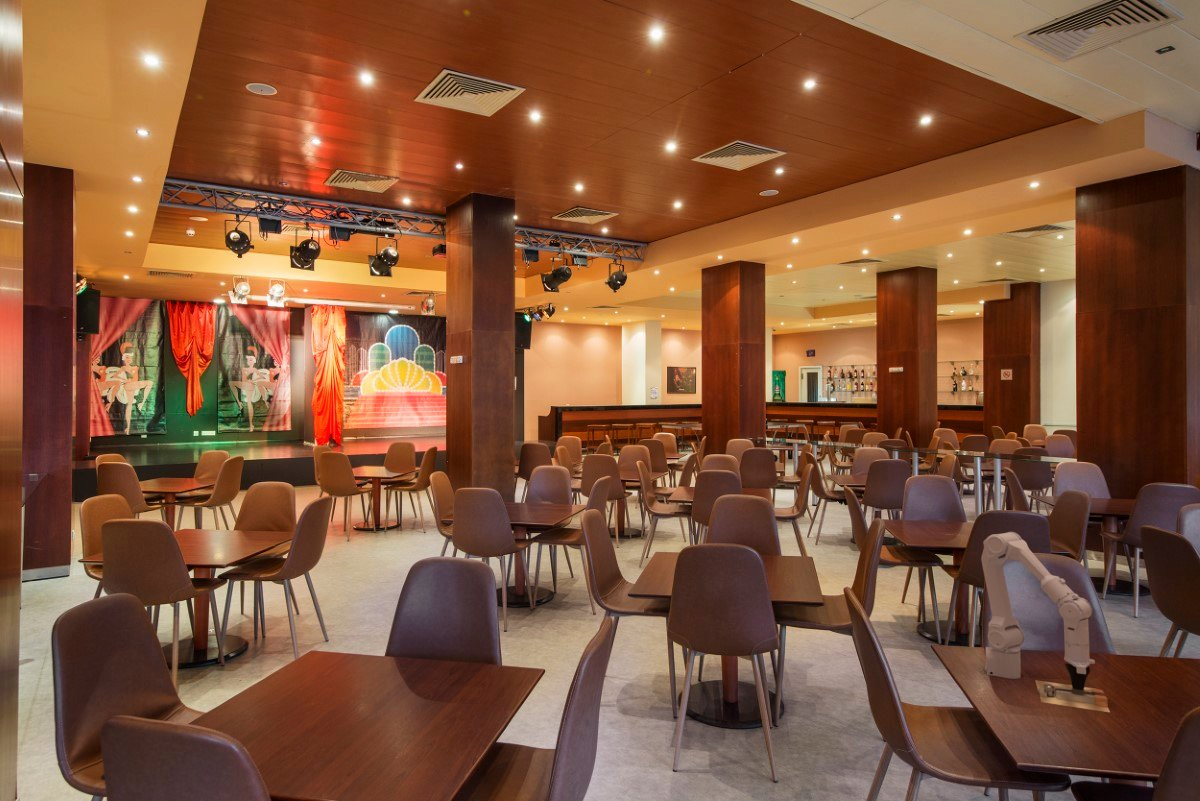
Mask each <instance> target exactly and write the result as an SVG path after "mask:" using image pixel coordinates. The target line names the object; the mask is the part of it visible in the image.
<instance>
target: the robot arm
mask: <svg viewBox="0 0 1200 801" xmlns="http://www.w3.org/2000/svg"><path fill="white" fill-rule="evenodd" d="M982 544H983V549H982V550H983V551H982V554H981V558H980V561H981V565H982V571H983V576H984V580H985V585H986V591H987V596H988V601H989V606H990V611H991V615H992V616H991V619H990V621H989V622H988V625H987V626H988V633H987V641H988V643H989V645H990V646H985V665H984V671H985V672H986V676H987V675H988V676H993V677H999V678H1005V679H1010V680H1011V679H1012V680H1013V679H1014V680H1015V679H1017V680H1018V679H1020V678H1021V677H1022V676H1021V675H1022V674H1021V670H1022V669H1021V668H1022V666H1021V646H1022V645H1023V644H1024V642H1025V639H1026V636H1025V632H1024V631H1023V630H1022V629H1021V627H1020V623H1019V621H1018V619H1017V618H1016V617H1014V616H1013V612H1012V611H1013V610H1012V606H1011V602H1010V601H1011V600H1010V597H1009V591H1008V587H1007V582H1006V576H1005V573H1004V572H1005V571H1004V567H1003V564H1004V562H1006V560H1007V559H1012V560H1016V561H1019V562H1020V563H1021V564H1022V565H1023V566H1024V567H1025V568H1026V569H1027V570H1028V571H1029V572H1030V573H1031V574H1032V575H1034V577H1036V579H1037V580H1039V581H1040V589H1042V591H1043V592H1044V593H1045V594H1046V595H1047V597H1049V599H1051V601H1052V602H1053V603H1054V604H1055V605H1056V606H1057V607H1058V612H1059V615H1060V617H1061V618H1062V620H1063V630H1064V632H1063V633H1064V638H1063V639H1064V640H1063V641H1064V656H1063V659H1064V661H1065V662H1067V663H1065V664H1064V666H1065V668H1066V670H1067V672H1068V675H1069V677H1070V682H1071V685H1072V687H1073V688H1077V689H1084V687H1085V685H1086V680H1087V678H1088V676H1089V674H1090V672H1091V668H1090V665H1091V664H1092V665H1094V664H1096V661H1095V659H1092V658H1090V633H1089V618H1090V617H1091V616H1092V614H1093V607H1092V605H1091V604H1090V602H1089V601H1088V599H1085V598H1084V597H1080V596H1079V595H1078V594H1077V593H1075V592H1074V591H1073V590H1072V589H1071V588H1070V587H1069V586H1068V585H1067V584H1066V582H1067V581H1066V580H1065V579H1064V578H1061V577H1060V576H1058V575H1053V574H1051V573H1050V571H1048V569H1047V568H1046V567H1045V566H1044V565H1043V563H1042V562H1041V561H1040V560H1039V559H1038V558H1037V556H1036V555H1035V554H1034V553H1033V552H1032V550H1031V549H1030V548H1029V546H1028V544H1027V542H1026V541H1025V540H1024V539H1022V537H1021V536H1020V535H1019V534H1018V533H1017V532H1013V531H1007V532H1005V533H1004V532H1003V533H997V534H995V533H994V534H991V535H988V536H987V537H986V539H984V540H983V543H982Z"/></svg>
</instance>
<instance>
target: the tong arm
mask: <svg viewBox="0 0 1200 801" xmlns="http://www.w3.org/2000/svg"><path fill="white" fill-rule="evenodd" d="M1056 690H1060V691H1067V692H1074V693H1081V694H1088V695H1100V696H1105V692H1104V690H1103V689H1098V688H1095V689H1091V690H1085V689H1077V688H1068V687H1060V686H1054V694H1055V695H1056Z"/></svg>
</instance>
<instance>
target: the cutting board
mask: <svg viewBox="0 0 1200 801" xmlns="http://www.w3.org/2000/svg"><path fill="white" fill-rule="evenodd" d="M1044 684H1050V685H1053V686H1060V687H1068V688H1073V687H1072V684H1066V683H1058V682H1050V681H1043V680H1037V679H1035V685H1036V689H1037V692H1038V693H1039V690H1038V688H1044ZM1084 689H1085V690H1091V689H1096V688H1094V687H1086V686H1084ZM1039 698H1040V702H1041V703H1045V704H1050V705H1051V704H1052V705H1059V706H1065V707H1070V708H1071V707H1073V708H1077V709H1084V710H1092V711H1097V712H1105V713H1111V711H1110V709H1109V707H1101V706H1096V705H1093V704H1086V703H1079V702H1072V701H1066V700H1059V699H1056V695H1055V694H1054V697H1047V698H1044V697H1040V696H1039Z"/></svg>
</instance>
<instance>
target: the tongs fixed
mask: <svg viewBox="0 0 1200 801" xmlns="http://www.w3.org/2000/svg"><path fill="white" fill-rule="evenodd" d="M1038 690H1039V692H1038V694H1039V698H1040V697H1044V698H1047V697H1054V686H1053V685H1050V684H1044V688H1038V689H1037V691H1038ZM1056 699H1059V700H1066V701H1072V702H1079V703H1086V704H1093V705H1096V706H1101V707H1108V705H1109V704H1108V701H1109V700H1108V697H1107V696H1106V695H1104V696H1100V695H1088V694H1081V693H1074V692H1067V691H1060V690H1056ZM1108 708H1109V707H1108Z"/></svg>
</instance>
